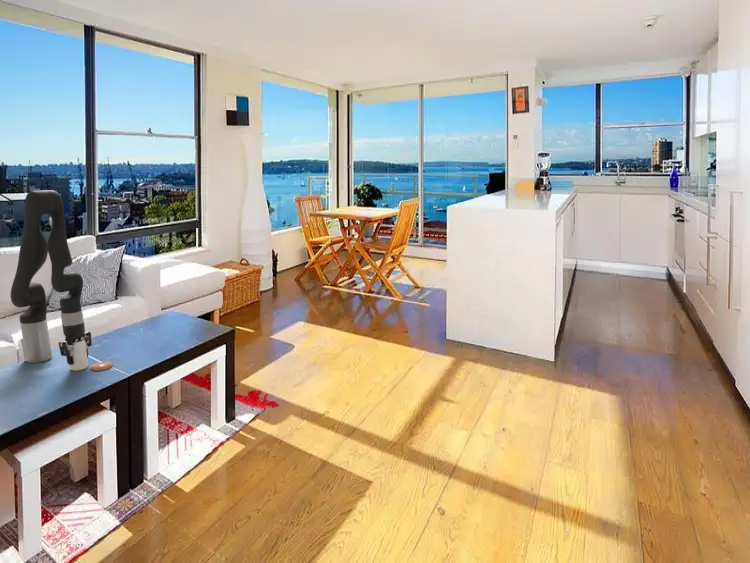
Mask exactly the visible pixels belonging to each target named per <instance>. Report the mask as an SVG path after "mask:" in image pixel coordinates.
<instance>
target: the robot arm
mask: <svg viewBox="0 0 750 563" xmlns="http://www.w3.org/2000/svg"><path fill="white" fill-rule="evenodd" d="M23 212H24V217H23V228H22V229H23V230H22V236H21V242H20V246H19V247H20V248H19V252H18V254H19V255H18V261H17V267H16V272H15V276H14V279H13V280H12V281H13V282H12V285H11V288H10V299H11V301H10V302H11V303H12V305H13V306H15V307H16V308H25V307H28V309H27V310H25V311H24V312H23V313H21V314H20V315H19V322H20V329H21V335H22V338H21V346H22V352H23V359H24V361H26V363H29V364H36V363H42V362H46V361H49V360H50V359H52V358H53V353H52V348H51V347H52V346H51V341H50V333H49V327H48V320H47V313H48V309H47V307H48V306H47V298H46V297H47V296H46V290H45V288H44V286H43V285H42V284H41V283H40V282H38V281H32V280H33V279H34V276H35V275H36V274H37V273H38V271H39V270H41V268H42V267H43V266H44V264H45V263H46V261H47V257H48V256H49V259H50V262H51V264H50V265H51V277H50V282H51V286H52V288H53V290H54V291H55V292H57V293H65V292H68V293H67V295H65V296H62V297H61V298H60V299H59V306H60V314H61V317H60V318H61V325H62V333H63V335H64V337H65V339H64V340H62V341H58V347H59V351H60V355H61V356H63V357H66V363H67V364H68V365H69V364H70V365H73V364H74V359H73V356H72V355H73V350H74V345H75V342H78V341H82V340H83V339H84V342H85V345H86V352H87V359H88V358H89V347H91V346H92V344H93V342H92V332H91V331H86V327H85V320H84V314H83V310H82V303H81V300H82V299H81V298H82V293H83V292H82V291H83V288H84V286H83V285H84V280H83V276H82V275H81V274H80V273H79V272H77V271H70V272H65V269H66V268H67V267H69V266H72V264H73V258H72V255H71V251H70V248H69V244H68V239H67V230H66V229H67V228H66V218H65V210H64V202H63V199H62V197H61V194H60V193H59V192H57V191H56V190H53V189H52V190H50V189H49V190H47V189H45V190H43V189H41V190H31V191H29V192H28V193H27V194H26V195H25V200H24V211H23ZM47 215H50V218H51V224H52V226H51V230H50V233H49V236H48V239H47V237H46V235H45V234H44V232H43V231H42V228H41V220H42V219H41V218H42V216H47ZM68 345H73V346H72V348H68ZM69 350H70V353H69ZM70 365H69V366H70Z"/></svg>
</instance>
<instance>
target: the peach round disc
mask: <svg viewBox="0 0 750 563" xmlns="http://www.w3.org/2000/svg"><path fill="white" fill-rule="evenodd" d="M113 366H114V364H113V362H112V361H109V360H108V361H107V360H105V361H99V362H95V363H93V364H91V365H90V370H91V371H94V372H100V371H105V370H108V369H110V368H112V367H113Z"/></svg>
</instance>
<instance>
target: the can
mask: <svg viewBox="0 0 750 563" xmlns="http://www.w3.org/2000/svg"><path fill="white" fill-rule="evenodd" d="M72 346H73V345H68V348H72ZM69 353H70V350H69ZM72 356H73V359H74V364H73V365H70V364H68V365H69V369H70V370H71V371H72V372H78V371H82V370H86V369H87V368H88V367H89V361H88V358H87V352H86V345H85V342H84V339H83V340H82V341H78V342H75V345H74V350H73V355H72Z"/></svg>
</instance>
